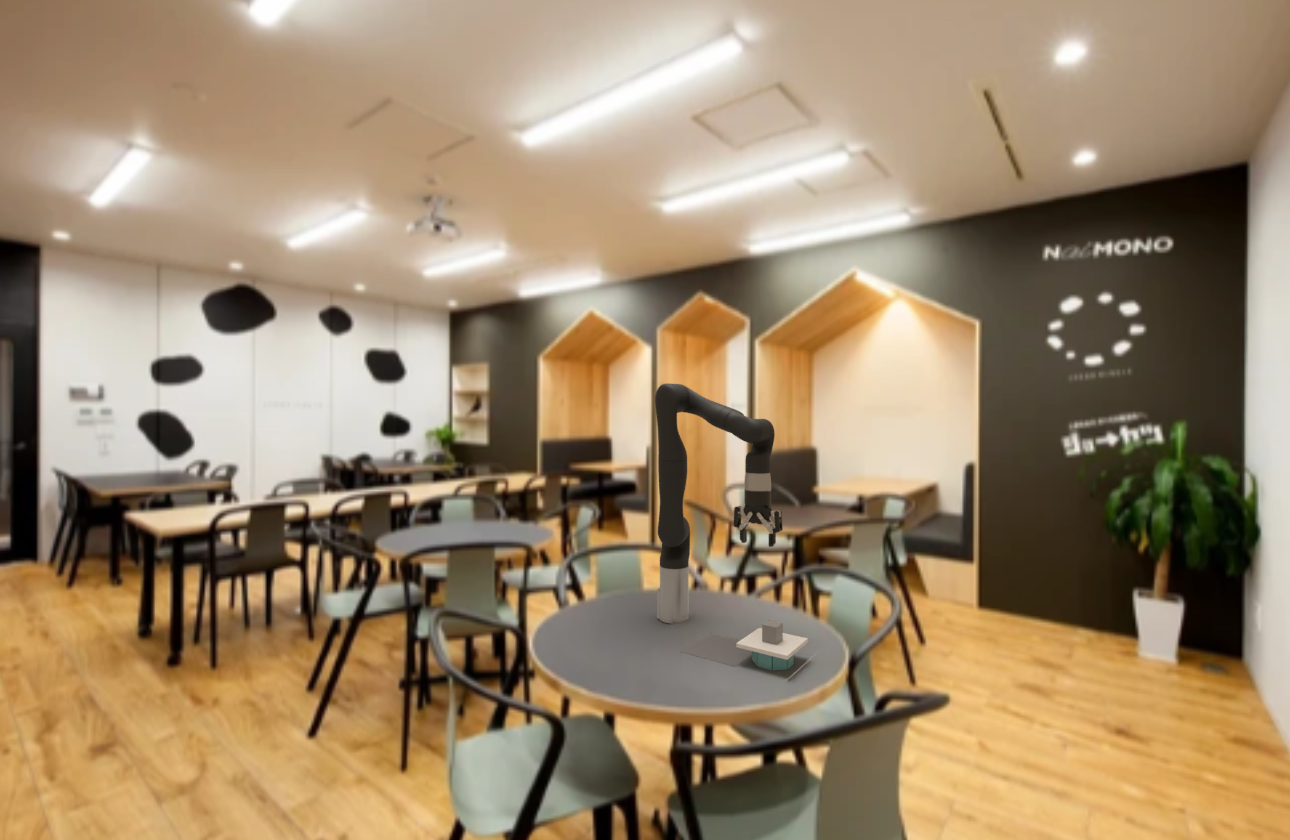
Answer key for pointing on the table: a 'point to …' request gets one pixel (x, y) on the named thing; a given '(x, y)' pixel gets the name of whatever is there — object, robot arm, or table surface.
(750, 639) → the lid
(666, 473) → the robot arm
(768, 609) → the table surface
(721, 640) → the mat
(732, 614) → the table surface
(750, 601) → the table surface
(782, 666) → the bowl
